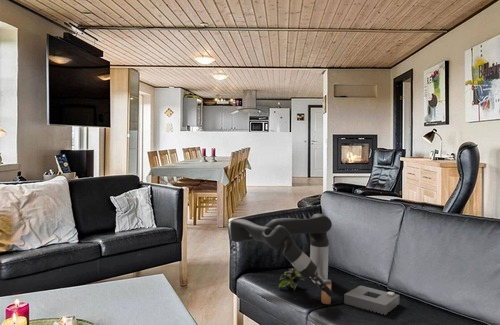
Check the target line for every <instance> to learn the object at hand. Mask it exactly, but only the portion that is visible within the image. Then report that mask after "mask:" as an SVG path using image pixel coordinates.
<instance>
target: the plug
mask: <svg viewBox="0 0 500 325" xmlns="http://www.w3.org/2000/svg"><path fill="white" fill-rule="evenodd" d="M323 280H324V281H325V284H326V285H327V286H328V288H329V289H330V290H331V291H332V280H331V279H323ZM322 282H323V281H322ZM324 287H325V286H323V287H322V288H324ZM320 299H321V301H320V302H321V303H322V304H324V305H331V304H332V303H331V302H332V300H331V299H332V296H331V297H330V296H329V295H328V294H327V293H326V292H325V291H322V290H321V298H320Z"/></svg>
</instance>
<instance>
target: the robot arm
mask: <svg viewBox="0 0 500 325" xmlns="http://www.w3.org/2000/svg"><path fill="white" fill-rule="evenodd" d="M332 223H333V222H332V220H331V219H330V217H328V216H327V215H325V214H323V213H315V214H313V215H312V216H311V218H294V217H282V218H273V219H271V220H270V221H268V223H266V224H265V225H259V224H257V223H255V222H253V221H251V220H248V219H245V218H244V219H243V218H236V219H232V220H231V222H230V226H229V227H230V237H231V238H230V239H231V242H234V243H245V242H249V241H250V242H251V241H257V242H259V243H260V242H261V243H264V244H266V245H267V246H269V248H270V249H272V250H277V249H279V248H281V247H282V246H283V244H284V248H283V251H282V256H284V258H285V259H286V260H287V261H288V262H289V263H290V264H291V265H292V266H293V267H294V269H296V270H297V271H298V272H299V273H300V274H301V275H302V276H303V277H304V278H303V279H304V280H305V279H306V280H307V279H308V278H309V279H311V281H312V282H313V283H314V284H315V285H316V286H317V287H318V288H319V289H320V290H321V292H322V291H325V292H326V293H327V294H328V295H329V296H330V297H331V298H332V296H334V292H333V290H332V289H331V290H330V289H329V288H328V286H327V285H326V284H325V281H324V280H323V279H328V275H329V274H328V272H329V241H330V240H329V239H328V235H327V232H329V231H330V230H331V229H332V227H333V224H332ZM304 234H309V240H310V253H309V256H308V255H307V254H306V252H304V251H302V250H301V249H300V247H299V246H298V245H297V244H296V242H295V241H294V239H293V237H292V236H298V235H304ZM293 267H292V268H293ZM322 281H323V282H322ZM323 286H325V287H324V288H322V287H323Z"/></svg>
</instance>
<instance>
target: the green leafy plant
mask: <svg viewBox="0 0 500 325" xmlns="http://www.w3.org/2000/svg"><path fill="white" fill-rule="evenodd" d="M281 280H282V281H281ZM279 281H281V282H280V283H279V285H278V288H279V289H282V288H285V287H287V286H289V285H290V287H291V288H292V289H293V292H295V291H296V288H297V286H298V285H299V283H300V282H301V281H303V282H304V281H305V278H304V277H303V276H302V275H301V274H300V273H299V272H298V271H297V270H296V269H295V268H293V267H291V268H288V270H287V271H284V274H281V276H280V277H279Z"/></svg>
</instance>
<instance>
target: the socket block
mask: <svg viewBox="0 0 500 325" xmlns="http://www.w3.org/2000/svg"><path fill="white" fill-rule="evenodd" d="M343 297H344V301H343V304H344V305H349V306H352V307H355V308H358V309H361V310H365V309H366V310H365V311H369V310H370V311H369V312H372V311H373V312H372V313H376V312H377V313H376V314H379V313H380V315H383V314H384V315H383V316H386V315H387V314H389V313H390V312H391V311H392V310H393V309H395V308H396V307H397V305H398V306H399V305H400V294H397V293H395V292H393V291H385V290H382V289H381V290H380V289H376V288H372V287H368V286H364V285H359V286H357V287H355V288H353V289H351V290H349V291H347V292H346V293H344V294H343ZM388 312H389V313H388Z"/></svg>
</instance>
